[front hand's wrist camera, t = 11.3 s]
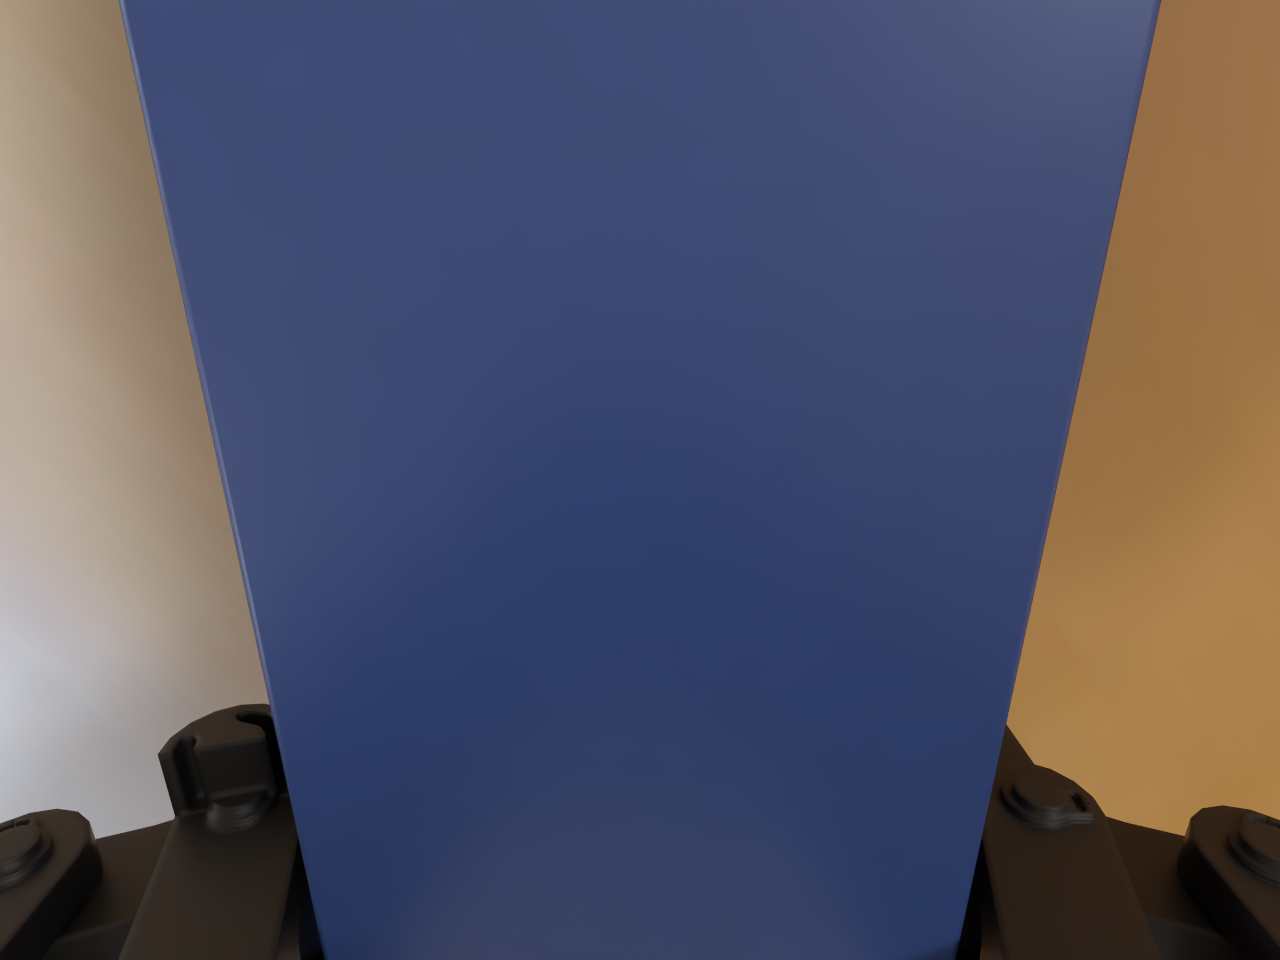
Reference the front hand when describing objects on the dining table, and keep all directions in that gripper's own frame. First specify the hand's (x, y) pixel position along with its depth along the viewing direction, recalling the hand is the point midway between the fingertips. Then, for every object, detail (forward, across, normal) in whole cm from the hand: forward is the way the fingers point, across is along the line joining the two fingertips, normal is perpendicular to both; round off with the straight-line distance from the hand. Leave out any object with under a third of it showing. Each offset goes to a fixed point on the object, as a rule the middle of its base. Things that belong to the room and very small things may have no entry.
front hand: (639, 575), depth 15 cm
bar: (+1, 0, -10) cm, 10 cm away
